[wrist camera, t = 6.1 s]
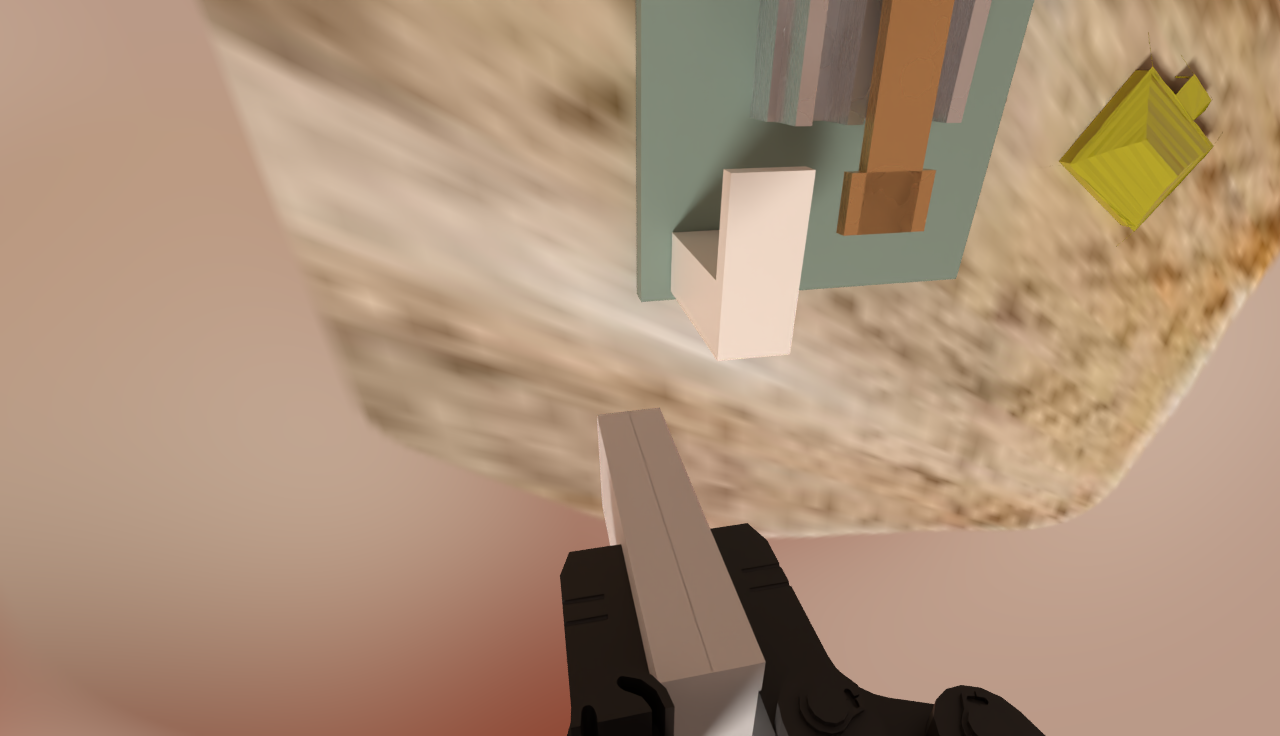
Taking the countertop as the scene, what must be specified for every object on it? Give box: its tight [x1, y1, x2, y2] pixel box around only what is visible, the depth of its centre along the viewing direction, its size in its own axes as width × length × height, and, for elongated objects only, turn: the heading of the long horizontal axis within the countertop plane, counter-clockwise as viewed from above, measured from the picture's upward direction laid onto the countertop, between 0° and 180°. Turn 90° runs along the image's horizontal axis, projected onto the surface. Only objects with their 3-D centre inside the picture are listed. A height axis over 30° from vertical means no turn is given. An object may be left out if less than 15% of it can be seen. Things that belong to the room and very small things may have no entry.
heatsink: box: [750, 0, 992, 126], centre depth 22 cm, size 8×8×4 cm
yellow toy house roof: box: [1050, 33, 1223, 247], centre depth 31 cm, size 10×9×3 cm
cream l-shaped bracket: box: [671, 166, 816, 361], centre depth 24 cm, size 7×3×8 cm, turn 0°
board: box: [636, 0, 1034, 302], centre depth 22 cm, size 25×18×7 cm
